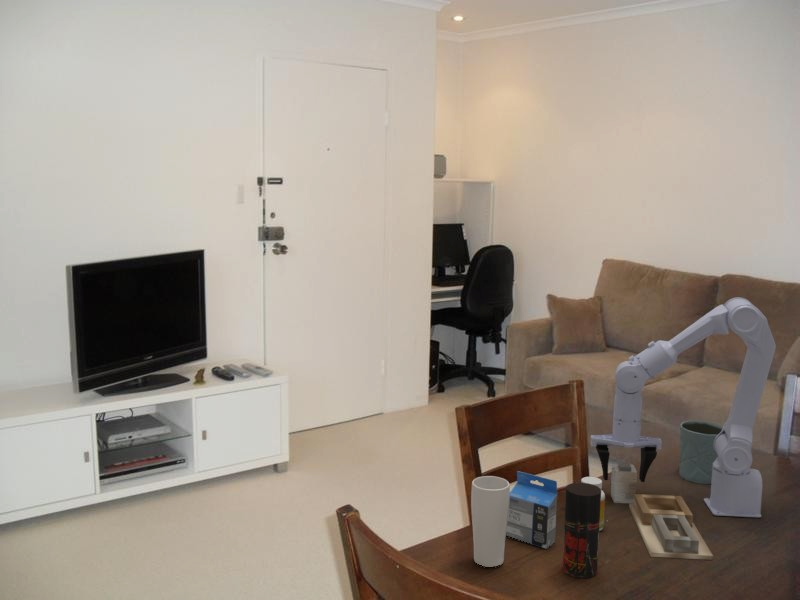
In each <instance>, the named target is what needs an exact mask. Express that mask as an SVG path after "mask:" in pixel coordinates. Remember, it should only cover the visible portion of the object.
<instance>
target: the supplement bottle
mask: <svg viewBox="0 0 800 600" xmlns="http://www.w3.org/2000/svg"><path fill="white" fill-rule="evenodd" d="M580 483H588V484H592V485H595V486H597V487H599V488H600V489H601V504H600V524H599V532H600V531H603V529H604V526H605V525H604V523H605V507H606V506H605V505H606V503H605V502H606V494H605V492H604V491H603V490H602V489H603V480H602V479H600V477H599V478H598V477H595V476H585V477H582V478H581V480H580Z"/></svg>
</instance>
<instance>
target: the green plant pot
mask: <svg viewBox="0 0 800 600" xmlns="http://www.w3.org/2000/svg"><path fill="white" fill-rule="evenodd" d="M722 428H723V425H721V424H718V423H714V422H711V421H710V422H709V421H706V420H705V421H703V420H687V421H682V422H681V423H680V424H679V440H680V443H679V476H680V477H681V479H683V480H685V481H688V482H691V483H695V484H701V485H702V484H703V485H705V484H709V485H710V484H711V482H712V468H713V462H714V461H715V460H716V458H717V457H718V455H717V453H716V452H715V450H714V446H713V443H714V440H715V438H716V436H717V435H718V434H719V433H720V432H721V431H722Z"/></svg>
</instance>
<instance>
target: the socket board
mask: <svg viewBox="0 0 800 600" xmlns="http://www.w3.org/2000/svg"><path fill="white" fill-rule="evenodd" d="M628 508H629V511H630V513H631V515H632V518H633V520H634V523H635V525H636V526H637V530H638V531H639V533H640V535H641V538H642V540H643V543H644V545H645V547H646V550H647V552H648V555H649V556H650V558H651V557H652V558H668V559H686V560H687V559H688V560H703V561H705V560H707V561H713V560H714V555H713V553H712V551H711V550H710V549H709V546H708V545H707V543H706V541H705V539H704V538H703V537H702V534H700V532H699V530H698V528H697V527H696V525H695V523H694V515H693V513H692V511H691V510H690V508H689V507H688V505H687V503H686V501H685V500H684V498H683V497H682V495H668V494H667V495H661V494H641V493H640V494H639V493H636V494H634V504H632V503H628Z"/></svg>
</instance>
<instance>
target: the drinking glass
mask: <svg viewBox="0 0 800 600" xmlns="http://www.w3.org/2000/svg"><path fill="white" fill-rule="evenodd" d="M510 488H511V487H510V482H509V481H508V480H507V479H505V478H504V477H500V476H494V475H485V476H484V475H483V476H478V477H475V478H474V479H473V480H472V482H471V490H470V491H471V494H470V495H471V496H470V505H471V506H470V507H471V521H472V523H471V524H472V535H473V536H472V538H473V541H472V542H473V561H474V562H475V564H476V563H477V565H478V564H479V565H482V566H485V567H493V566H498V565H500V566H501V565H502V564H503V563H504V559H505V547H506V546H505V545H506V538H507V537H506V530H507V522H508V513H509V503H510V492H511V489H510ZM479 565H478V566H479ZM482 566H481V567H482ZM485 567H484V568H485ZM498 567H499V566H498Z"/></svg>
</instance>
